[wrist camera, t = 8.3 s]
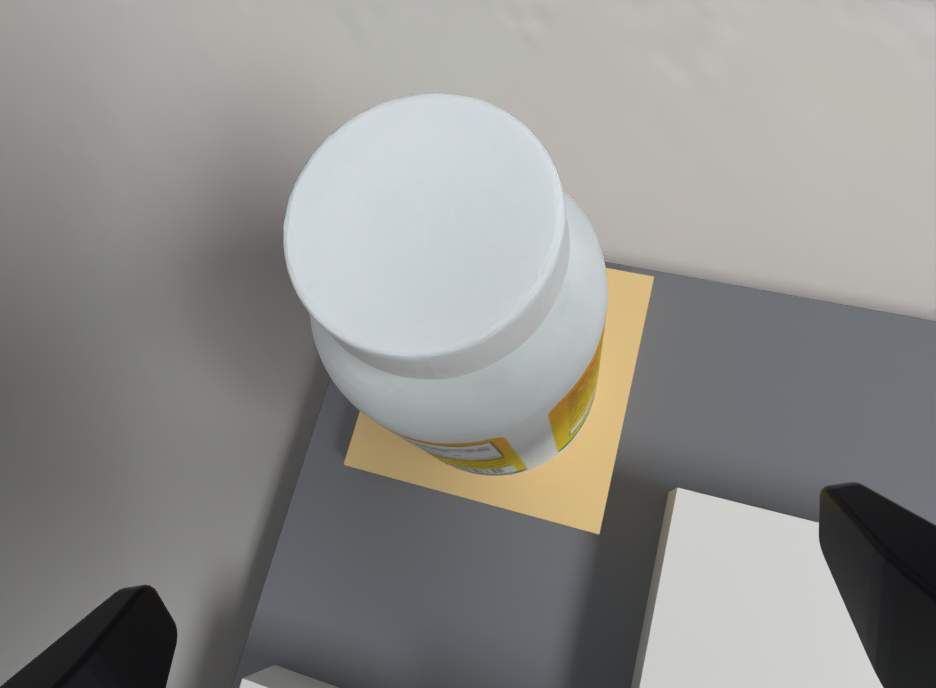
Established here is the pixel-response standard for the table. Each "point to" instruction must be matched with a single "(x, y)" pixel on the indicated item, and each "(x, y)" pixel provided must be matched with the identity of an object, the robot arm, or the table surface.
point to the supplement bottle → (450, 281)
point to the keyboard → (615, 514)
